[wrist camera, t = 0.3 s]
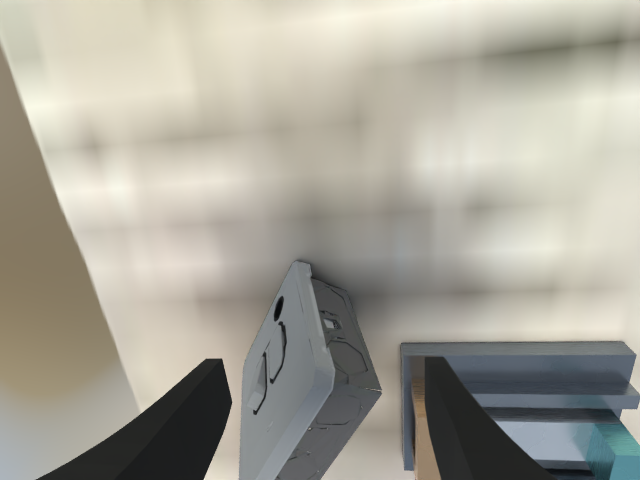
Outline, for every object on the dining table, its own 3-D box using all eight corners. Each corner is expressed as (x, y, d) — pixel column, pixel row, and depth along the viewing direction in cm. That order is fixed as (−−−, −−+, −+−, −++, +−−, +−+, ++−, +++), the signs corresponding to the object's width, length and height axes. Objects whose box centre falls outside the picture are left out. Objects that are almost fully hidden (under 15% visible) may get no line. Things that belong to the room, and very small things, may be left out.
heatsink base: (593, 461, 26) (634, 526, 22) (402, 454, 27) (409, 514, 24) (622, 341, 22) (677, 394, 18) (401, 343, 24) (408, 391, 20)
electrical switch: (296, 252, 22) (277, 360, 14) (372, 284, 23) (397, 405, 15) (243, 360, 26) (202, 499, 18) (310, 385, 27) (302, 529, 18)
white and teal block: (597, 440, 23) (635, 495, 20) (465, 436, 24) (481, 489, 21) (606, 403, 22) (647, 455, 19) (468, 401, 23) (485, 451, 20)
